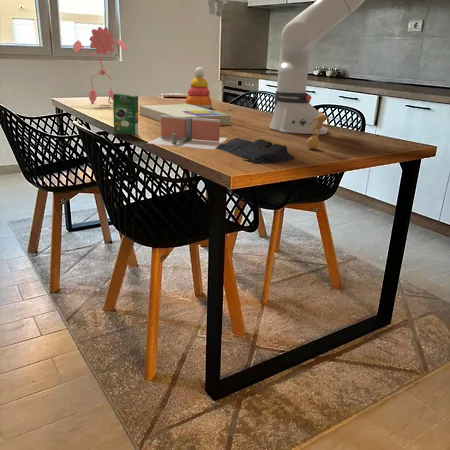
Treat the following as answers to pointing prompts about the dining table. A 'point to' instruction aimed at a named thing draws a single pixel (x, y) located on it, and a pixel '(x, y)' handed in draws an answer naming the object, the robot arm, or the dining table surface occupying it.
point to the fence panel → (205, 129)
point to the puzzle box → (183, 112)
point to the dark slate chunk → (257, 151)
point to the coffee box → (125, 114)
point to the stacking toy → (199, 91)
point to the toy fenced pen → (187, 142)
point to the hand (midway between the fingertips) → (215, 15)
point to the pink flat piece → (176, 126)
